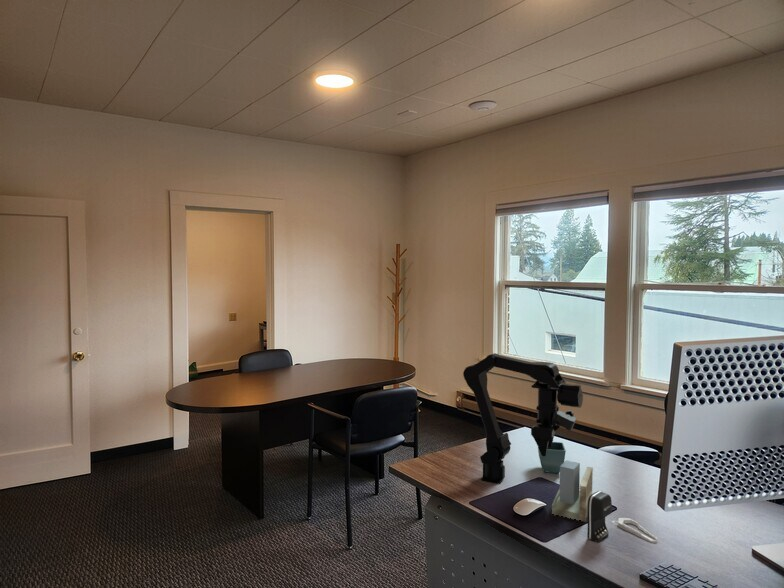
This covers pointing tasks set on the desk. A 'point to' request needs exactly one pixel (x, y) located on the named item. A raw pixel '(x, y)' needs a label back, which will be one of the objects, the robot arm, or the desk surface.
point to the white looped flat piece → (624, 526)
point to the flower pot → (553, 457)
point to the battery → (598, 515)
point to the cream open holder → (581, 505)
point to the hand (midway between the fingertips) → (546, 451)
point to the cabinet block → (569, 482)
